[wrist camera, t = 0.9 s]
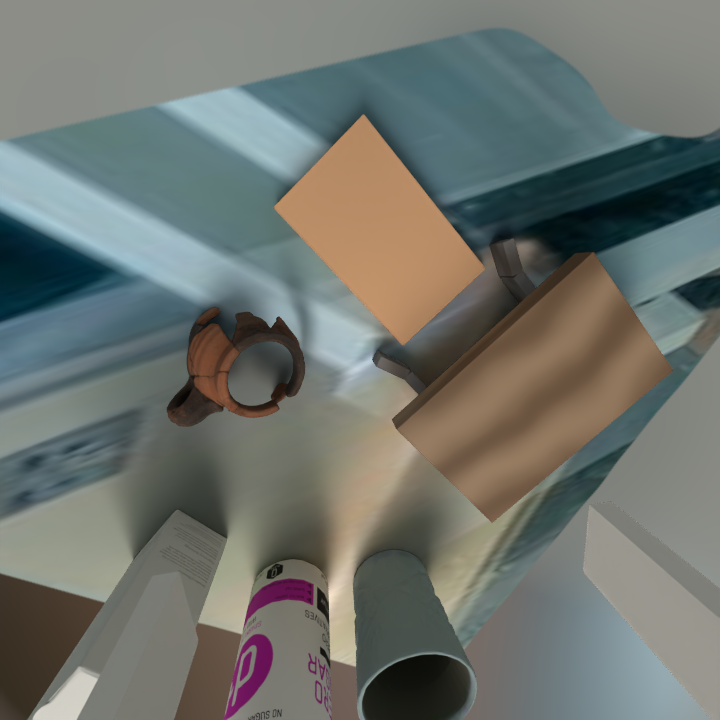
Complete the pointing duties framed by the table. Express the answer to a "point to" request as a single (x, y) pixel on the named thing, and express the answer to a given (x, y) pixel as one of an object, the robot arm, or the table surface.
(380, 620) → the grey cylindrical pot
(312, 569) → the supplement can
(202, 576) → the skincare box
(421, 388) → the walnut shelf
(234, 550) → the table surface
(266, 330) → the broken clay pot
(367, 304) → the terracotta panel
